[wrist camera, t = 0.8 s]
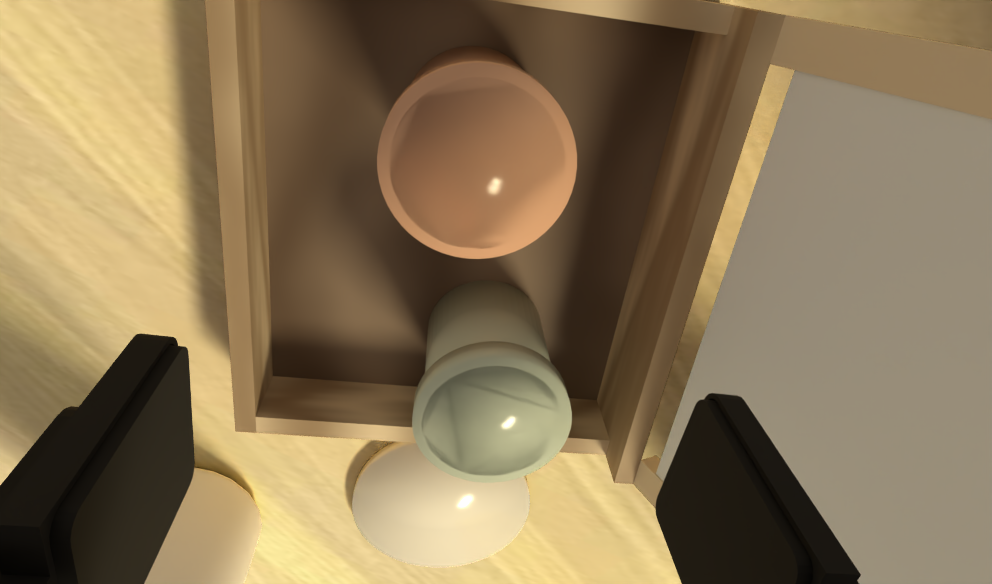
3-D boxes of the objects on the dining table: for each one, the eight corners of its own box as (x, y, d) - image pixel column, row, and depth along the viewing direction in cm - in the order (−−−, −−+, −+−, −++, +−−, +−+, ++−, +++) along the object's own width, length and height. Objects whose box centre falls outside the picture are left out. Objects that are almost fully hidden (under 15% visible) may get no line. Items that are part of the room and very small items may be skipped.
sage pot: (559, 279, 32) (586, 364, 26) (536, 386, 35) (556, 486, 29) (425, 266, 31) (419, 350, 25) (415, 377, 35) (406, 478, 28)
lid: (785, 15, 22) (804, 17, 22) (633, 484, 32) (648, 479, 32) (2304, 279, 7) (2262, 270, 7) (1104, 1001, 17) (1119, 977, 17)
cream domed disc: (542, 437, 38) (544, 446, 37) (514, 560, 43) (515, 570, 42) (356, 424, 37) (355, 434, 36) (351, 553, 42) (349, 564, 41)
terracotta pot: (560, 47, 27) (596, 78, 20) (534, 197, 30) (557, 267, 23) (400, 24, 26) (382, 49, 19) (390, 181, 29) (372, 249, 23)
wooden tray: (720, 2, 27) (785, 15, 22) (607, 408, 37) (633, 484, 32) (235, -73, 25) (176, -79, 19) (257, 383, 35) (222, 460, 30)
